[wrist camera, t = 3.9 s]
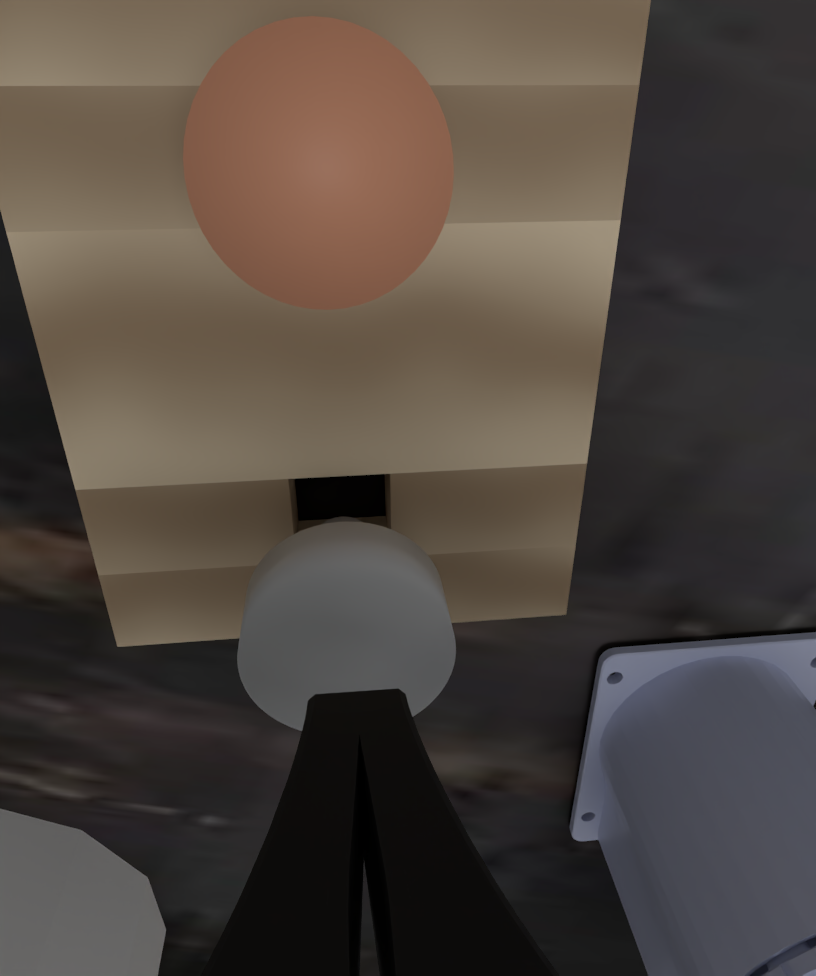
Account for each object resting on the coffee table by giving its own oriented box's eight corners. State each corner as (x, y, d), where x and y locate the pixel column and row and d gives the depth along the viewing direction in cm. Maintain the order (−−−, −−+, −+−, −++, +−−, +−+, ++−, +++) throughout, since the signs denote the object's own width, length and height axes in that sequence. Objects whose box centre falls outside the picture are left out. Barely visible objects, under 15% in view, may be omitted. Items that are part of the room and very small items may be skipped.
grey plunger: (427, 604, 18) (452, 727, 14) (264, 615, 17) (250, 744, 14) (429, 461, 16) (460, 563, 12) (245, 470, 15) (223, 578, 12)
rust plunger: (421, 257, 15) (450, 306, 12) (231, 262, 15) (204, 313, 11) (423, 35, 13) (458, 17, 10) (203, 35, 13) (161, 14, 9)
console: (546, 572, 21) (565, 614, 19) (134, 598, 20) (117, 646, 18) (617, -50, 14) (660, -70, 12) (-24, -60, 13) (-79, -84, 11)
